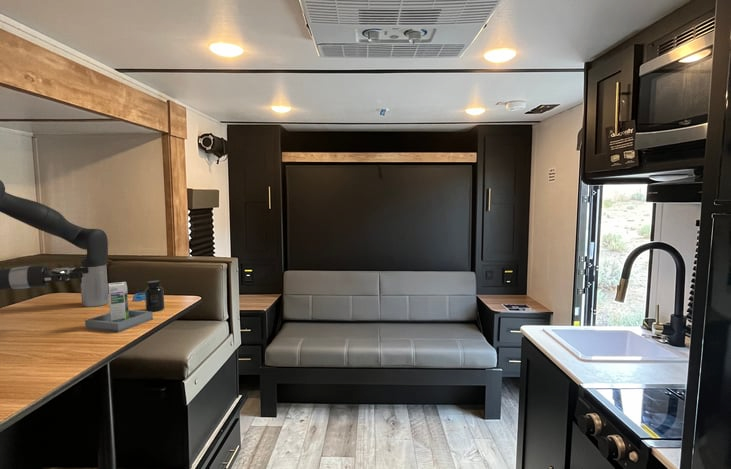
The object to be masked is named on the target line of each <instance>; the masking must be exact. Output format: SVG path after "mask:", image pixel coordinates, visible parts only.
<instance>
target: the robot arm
mask: <svg viewBox="0 0 731 469" xmlns="http://www.w3.org/2000/svg"><path fill="white" fill-rule="evenodd" d="M0 213H1V214H4V215H6V216H8V217H10V218H12V219H15V220H17V221H19V222H21V223H23V224H25V225H27V226H30V227H32V228H35V229H36V230H39V231H42V232H44V233H47V234H49V235H52V236H55V237H58V238H61V239H63V240H64V241H66V242H68V243H69V244H72V245H73V246H76V247H77V248H78V249H81V250H86V256H85V257H84V258H82V259H81V260H80V267H76V266H69V267H68V266H67V267H56V268H53V269H52V270H50V269H49V268H48V266H47V265H45V264H43V265H41V264H40V265H29V266H18V267H12V268H11V267H10V268H0V291H2V290H3V291H5V290H13V289H18V290H19V289H22V290H23V289H33V288H44V287H45V288H46V287H47V286H49V284H50V283H57V282H59V283H60V282H63V283H64V282H66V281H69V280H72V279H73V280H75V279H77V280H78V279H81V283H80V294H81V295H80V296H81V306H83V307H99V306H104V305H108V304H110V301H109V288H108V284H109V282H108V270H107V260H108V257H109V240H108V236H107V233H106V232H105V231H104V230H103V229H100V228H85V227H83V226H82V227H81V226H79V225H78V224H77V225H76V224H74V223H73V222H70V221H68V219H66V217H65V216H63V214H61V213H60V212H59V211H57V210H56V209H54V208H51V207H50V206H48V205H46V204H44V203H42V202H38V201H35V200H31V199H28V198H23V197H20V196H16V195H13V194H10V193H9V192H6V186H5V183H4V182H3V180H1V179H0Z"/></svg>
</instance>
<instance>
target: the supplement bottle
mask: <svg viewBox="0 0 731 469" xmlns="http://www.w3.org/2000/svg"><path fill="white" fill-rule="evenodd" d="M146 284H147V285H146V287H147V288H146V289H145V290H144V293H145V300H144V301H145V311H149V312H152V313H155V312H159V311H160V312H161V311H163V310H164V309H165V295H164V293H165V292H164V288H163V287H162V286H161V280H149V281H146Z"/></svg>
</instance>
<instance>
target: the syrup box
mask: <svg viewBox="0 0 731 469" xmlns="http://www.w3.org/2000/svg"><path fill="white" fill-rule="evenodd" d="M108 296H109V313H110V316H111V322H117V323H119V322H121V321H124V320H127V319H129V310H130V309H129V298H128V296H129V295H128V285H127V282H126V281H121V282H119V281H118V282H111V283H109V282H108Z"/></svg>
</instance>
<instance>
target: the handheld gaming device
mask: <svg viewBox="0 0 731 469" xmlns="http://www.w3.org/2000/svg"><path fill="white" fill-rule="evenodd" d="M142 300H144V301H145V292H137V293H135V294H134V298H133V302H134V301H135V302H142Z"/></svg>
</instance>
